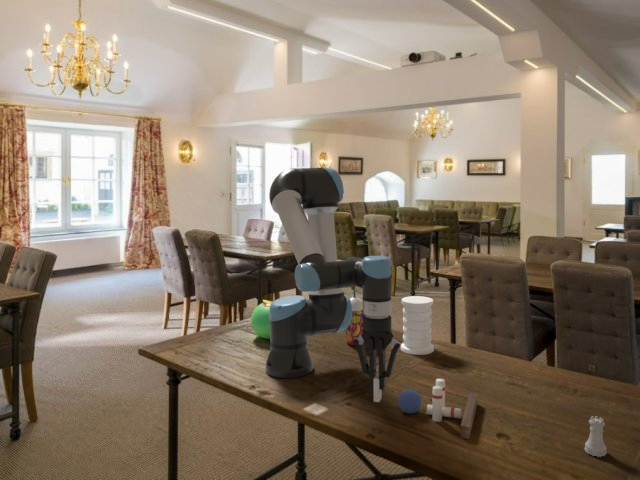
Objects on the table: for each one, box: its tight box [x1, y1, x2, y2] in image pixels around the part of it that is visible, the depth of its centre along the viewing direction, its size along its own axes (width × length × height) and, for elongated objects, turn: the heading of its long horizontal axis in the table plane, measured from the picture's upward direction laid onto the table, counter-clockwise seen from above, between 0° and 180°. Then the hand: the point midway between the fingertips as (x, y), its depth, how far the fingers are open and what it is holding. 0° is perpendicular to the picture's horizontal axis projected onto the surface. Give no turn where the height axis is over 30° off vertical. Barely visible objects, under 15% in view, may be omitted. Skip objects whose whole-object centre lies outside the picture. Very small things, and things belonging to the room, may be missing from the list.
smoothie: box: [344, 289, 364, 346], centre depth 197 cm, size 8×8×20 cm
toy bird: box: [250, 299, 275, 340], centre depth 206 cm, size 18×17×15 cm
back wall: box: [460, 392, 478, 440], centre depth 136 cm, size 2×20×3 cm, turn 159°
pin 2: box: [431, 385, 443, 423], centre depth 137 cm, size 2×2×8 cm
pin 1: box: [435, 378, 446, 407], centre depth 141 cm, size 2×2×8 cm
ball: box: [397, 389, 422, 414], centre depth 141 cm, size 6×6×6 cm
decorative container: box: [400, 295, 435, 356], centre depth 189 cm, size 12×12×18 cm
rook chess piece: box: [584, 415, 608, 458], centre depth 119 cm, size 4×4×8 cm
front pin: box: [426, 404, 462, 420], centre depth 139 cm, size 2×2×8 cm
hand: (377, 399), depth 145 cm, fingers closed
